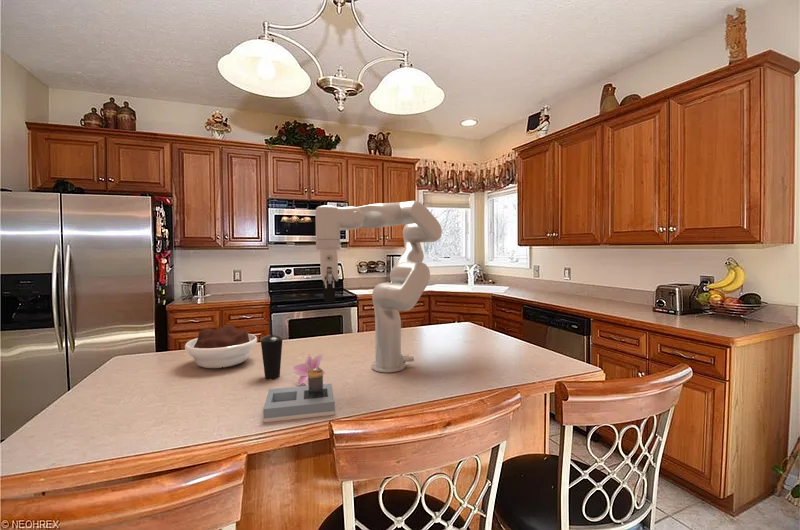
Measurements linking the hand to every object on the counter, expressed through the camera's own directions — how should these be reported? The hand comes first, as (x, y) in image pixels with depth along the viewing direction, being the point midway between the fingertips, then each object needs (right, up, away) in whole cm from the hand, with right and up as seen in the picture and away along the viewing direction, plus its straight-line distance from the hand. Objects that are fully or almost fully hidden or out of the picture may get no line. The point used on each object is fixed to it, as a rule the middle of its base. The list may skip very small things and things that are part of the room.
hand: (329, 299), depth 119 cm
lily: (-7, -29, +3) cm, 30 cm away
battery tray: (-5, -29, -14) cm, 33 cm away
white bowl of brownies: (-46, -28, +25) cm, 59 cm away
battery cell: (-1, -28, -13) cm, 31 cm away
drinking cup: (-22, -28, +10) cm, 37 cm away
